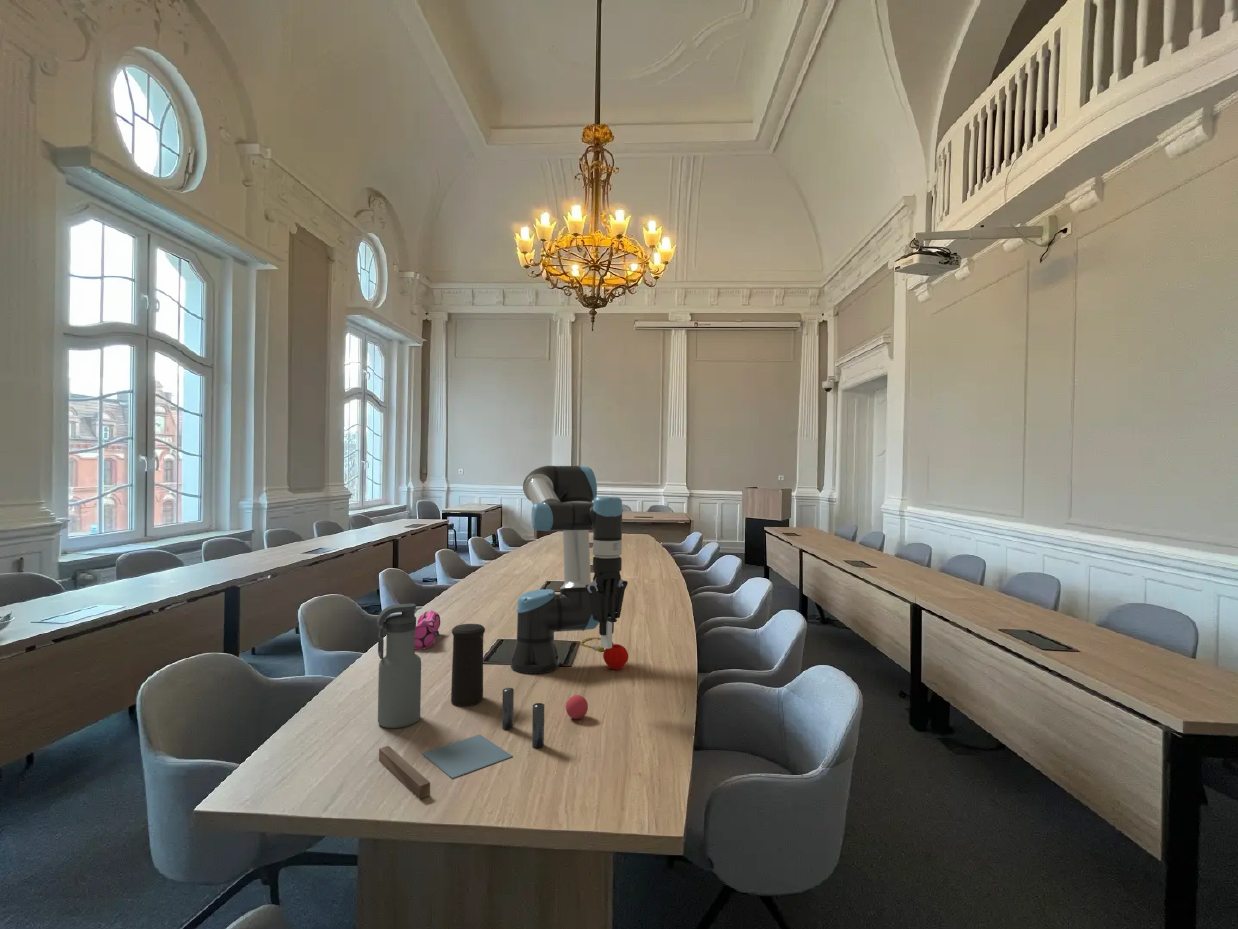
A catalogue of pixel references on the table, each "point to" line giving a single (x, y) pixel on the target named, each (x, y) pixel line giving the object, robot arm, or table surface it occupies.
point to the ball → (576, 706)
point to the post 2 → (538, 726)
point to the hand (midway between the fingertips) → (606, 647)
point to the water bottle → (398, 668)
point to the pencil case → (427, 629)
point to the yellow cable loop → (594, 646)
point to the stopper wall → (404, 772)
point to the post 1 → (507, 708)
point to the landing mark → (466, 756)
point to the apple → (615, 656)
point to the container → (467, 664)
